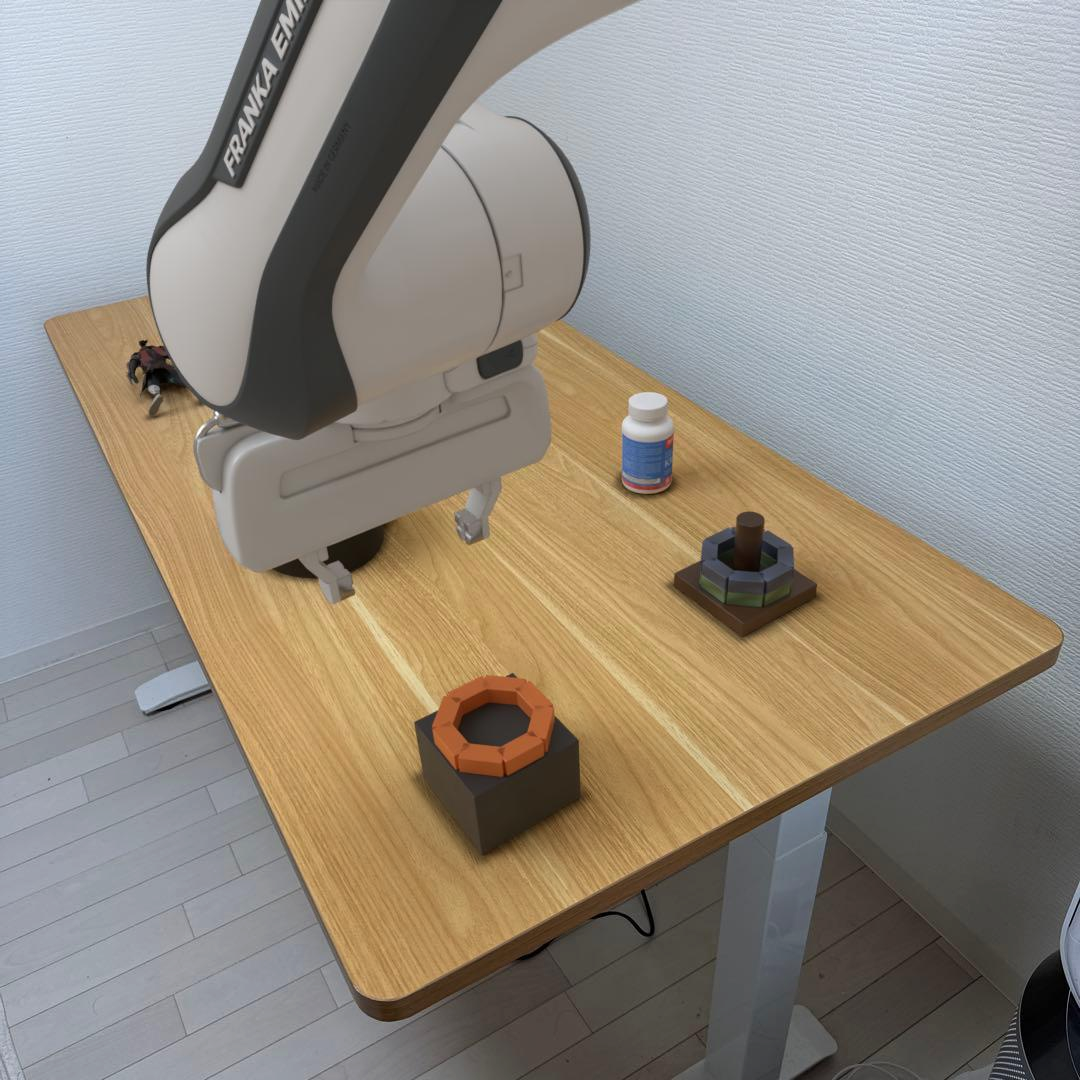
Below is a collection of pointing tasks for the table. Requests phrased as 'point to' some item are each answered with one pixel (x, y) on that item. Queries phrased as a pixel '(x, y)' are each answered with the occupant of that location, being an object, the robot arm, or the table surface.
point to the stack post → (746, 576)
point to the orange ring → (493, 757)
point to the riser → (508, 801)
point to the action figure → (153, 371)
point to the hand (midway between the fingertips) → (408, 565)
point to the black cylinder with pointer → (342, 553)
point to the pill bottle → (647, 444)
